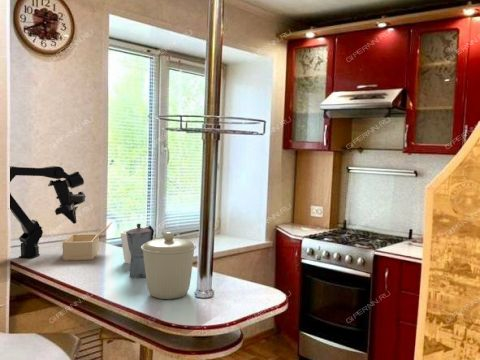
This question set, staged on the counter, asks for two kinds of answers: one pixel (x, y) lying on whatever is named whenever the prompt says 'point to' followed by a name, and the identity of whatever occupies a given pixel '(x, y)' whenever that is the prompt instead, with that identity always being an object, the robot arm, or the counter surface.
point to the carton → (80, 247)
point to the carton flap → (103, 231)
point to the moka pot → (138, 249)
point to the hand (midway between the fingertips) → (75, 223)
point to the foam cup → (125, 247)
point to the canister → (168, 266)
